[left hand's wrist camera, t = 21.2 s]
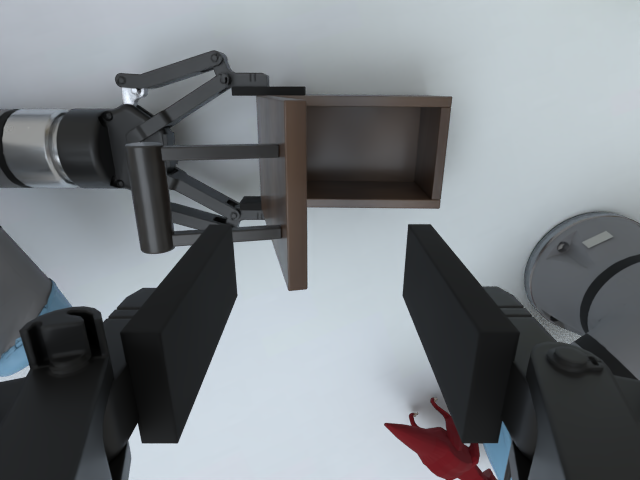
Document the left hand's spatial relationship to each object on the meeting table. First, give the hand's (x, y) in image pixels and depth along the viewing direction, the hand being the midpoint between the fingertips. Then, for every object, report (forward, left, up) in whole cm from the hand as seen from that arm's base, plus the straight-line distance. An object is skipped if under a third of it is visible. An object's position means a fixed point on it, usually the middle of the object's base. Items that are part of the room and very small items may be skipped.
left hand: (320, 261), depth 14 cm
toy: (-12, +40, -33) cm, 53 cm away
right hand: (+1, 0, -27) cm, 27 cm away
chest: (-3, 0, -33) cm, 33 cm away
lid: (+2, 0, -16) cm, 16 cm away
